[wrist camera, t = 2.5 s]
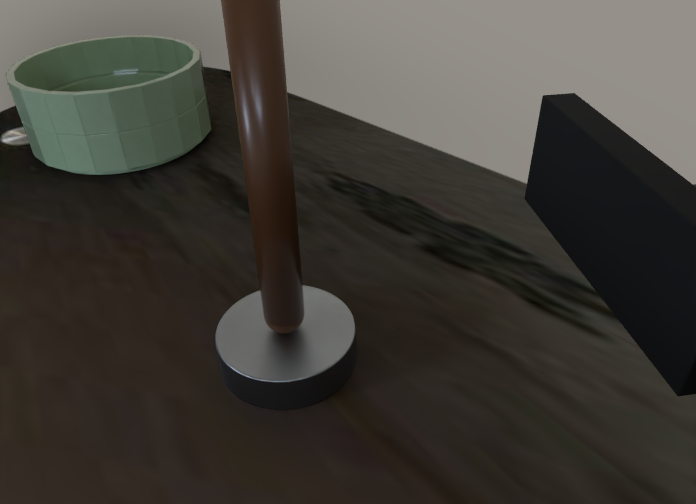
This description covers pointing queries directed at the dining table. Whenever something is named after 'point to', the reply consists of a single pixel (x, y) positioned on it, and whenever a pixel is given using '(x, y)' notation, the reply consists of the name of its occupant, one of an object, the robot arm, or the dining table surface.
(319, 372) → the wooden peg on disc
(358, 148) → the dining table surface
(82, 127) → the bowl
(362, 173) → the dining table surface
